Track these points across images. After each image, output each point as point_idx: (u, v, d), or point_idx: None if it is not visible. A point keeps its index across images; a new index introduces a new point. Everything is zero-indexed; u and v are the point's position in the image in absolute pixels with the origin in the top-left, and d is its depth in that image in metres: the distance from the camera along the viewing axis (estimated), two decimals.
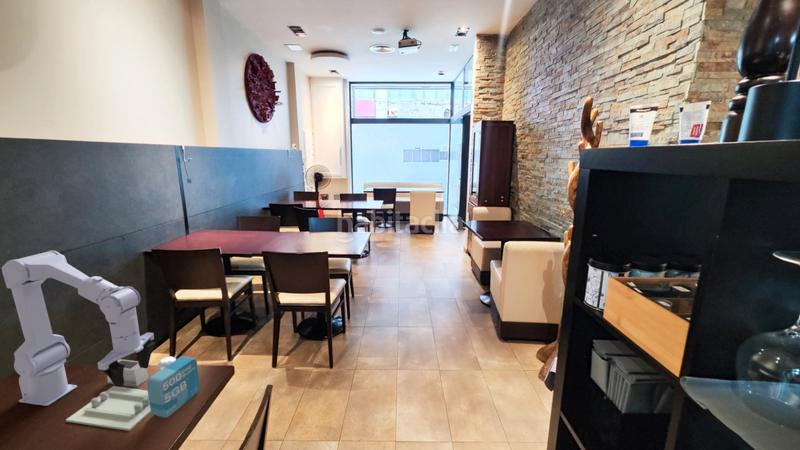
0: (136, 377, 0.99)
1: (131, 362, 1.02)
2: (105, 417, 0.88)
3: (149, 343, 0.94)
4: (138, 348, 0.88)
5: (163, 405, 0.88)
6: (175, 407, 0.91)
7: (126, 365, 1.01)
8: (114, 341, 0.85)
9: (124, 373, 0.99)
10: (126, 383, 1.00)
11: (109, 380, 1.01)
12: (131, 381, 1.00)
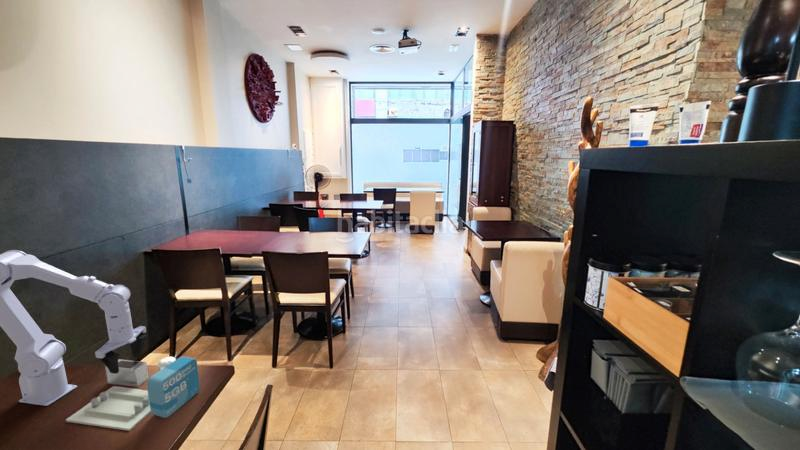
0: (136, 377, 0.99)
1: (131, 362, 1.02)
2: (105, 417, 0.88)
3: (141, 335, 1.04)
4: (131, 339, 0.99)
5: (163, 405, 0.88)
6: (175, 407, 0.91)
7: (126, 365, 1.01)
8: (109, 333, 0.96)
9: (124, 373, 0.99)
10: (126, 383, 1.00)
11: (109, 380, 1.01)
12: (131, 380, 1.00)
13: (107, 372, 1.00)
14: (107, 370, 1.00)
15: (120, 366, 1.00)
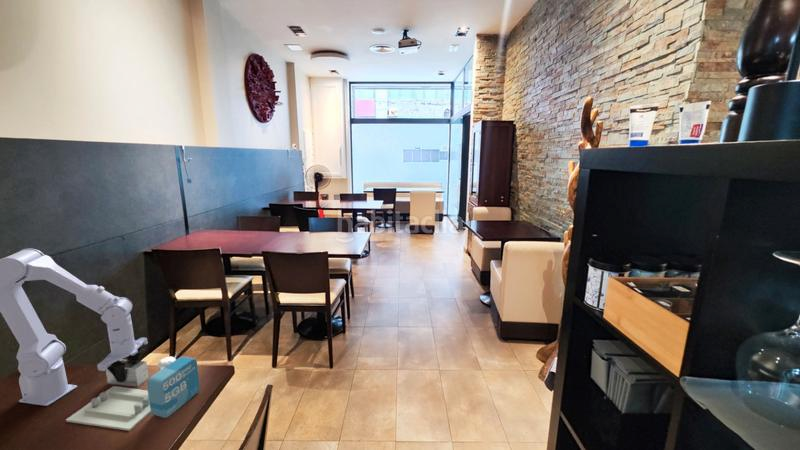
0: (137, 377, 1.00)
1: (131, 362, 1.02)
2: (105, 417, 0.88)
3: (139, 349, 1.04)
4: (133, 351, 1.00)
5: (163, 405, 0.88)
6: (175, 407, 0.91)
7: (126, 365, 1.01)
8: (111, 345, 0.97)
9: None
10: (126, 383, 1.00)
11: (109, 380, 1.00)
12: (131, 380, 1.00)
13: (107, 372, 1.00)
14: (107, 370, 1.00)
15: None
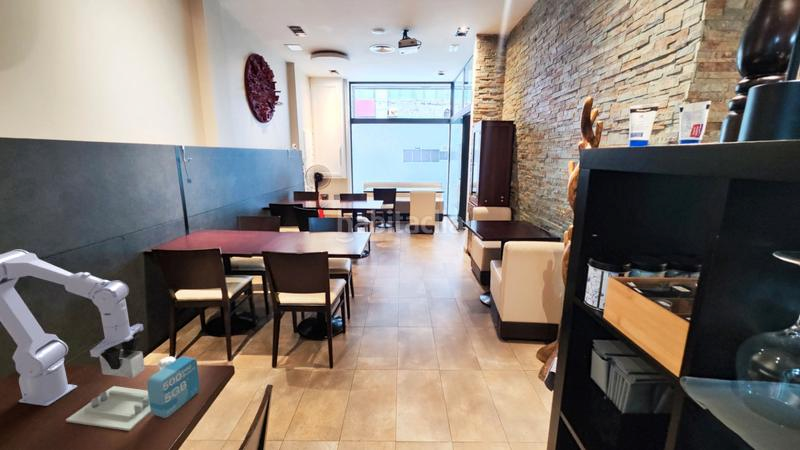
0: (132, 367, 0.95)
1: (126, 352, 0.97)
2: (105, 417, 0.88)
3: (134, 336, 0.99)
4: (128, 337, 0.95)
5: (163, 405, 0.88)
6: (175, 407, 0.91)
7: (121, 355, 0.96)
8: (105, 330, 0.92)
9: None
10: (121, 373, 0.96)
11: (103, 370, 0.96)
12: (127, 371, 0.95)
13: (101, 362, 0.95)
14: (101, 360, 0.95)
15: None
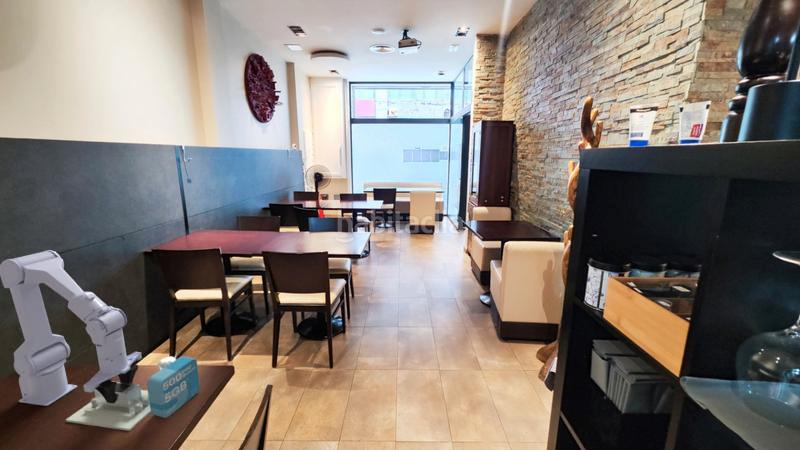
0: (128, 403, 0.89)
1: (123, 385, 0.91)
2: (105, 417, 0.88)
3: (132, 366, 0.93)
4: (125, 369, 0.89)
5: (163, 405, 0.88)
6: (175, 407, 0.91)
7: (117, 389, 0.90)
8: (100, 362, 0.86)
9: None
10: (117, 409, 0.89)
11: (98, 405, 0.90)
12: (123, 406, 0.89)
13: (96, 396, 0.89)
14: (96, 394, 0.89)
15: None
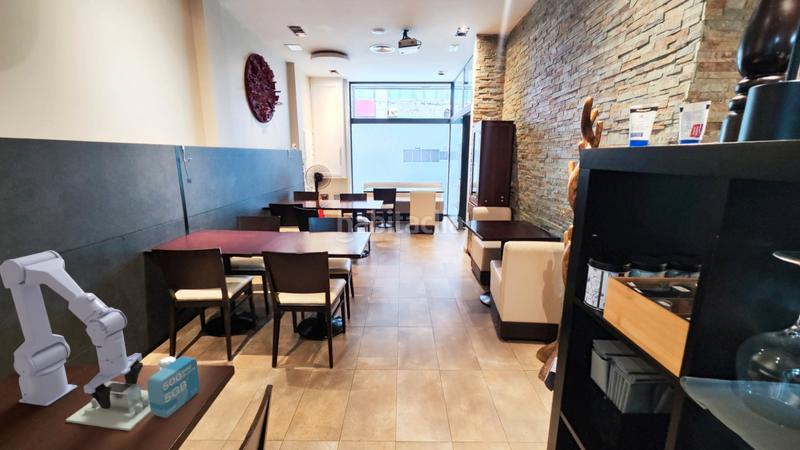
0: (128, 403, 0.89)
1: (123, 385, 0.91)
2: (105, 417, 0.88)
3: (137, 364, 0.94)
4: (125, 370, 0.89)
5: (163, 405, 0.88)
6: (175, 407, 0.91)
7: (117, 389, 0.90)
8: (100, 364, 0.86)
9: (115, 398, 0.89)
10: (117, 409, 0.89)
11: (98, 405, 0.90)
12: (123, 406, 0.89)
13: None
14: None
15: (111, 390, 0.89)
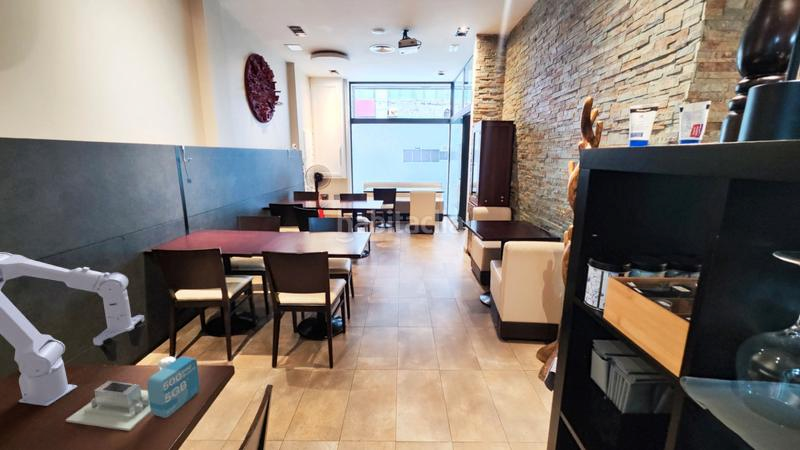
0: (128, 403, 0.89)
1: (123, 385, 0.91)
2: (105, 417, 0.88)
3: (140, 324, 1.04)
4: (129, 327, 0.99)
5: (163, 405, 0.88)
6: (175, 407, 0.91)
7: (117, 389, 0.90)
8: (108, 320, 0.96)
9: (115, 398, 0.89)
10: (117, 409, 0.89)
11: (98, 405, 0.90)
12: (123, 406, 0.89)
13: (96, 396, 0.89)
14: (96, 394, 0.89)
15: (111, 390, 0.89)
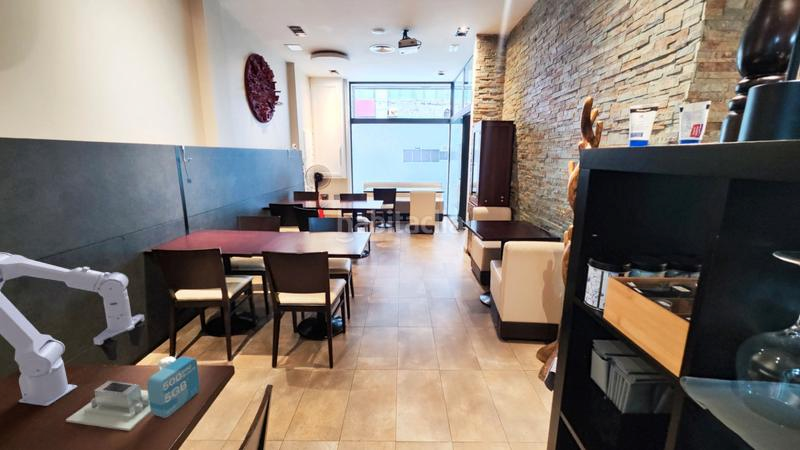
0: (128, 403, 0.89)
1: (123, 385, 0.91)
2: (105, 417, 0.88)
3: (140, 323, 1.05)
4: (130, 327, 0.99)
5: (163, 405, 0.88)
6: (175, 407, 0.91)
7: (117, 389, 0.90)
8: (108, 320, 0.96)
9: (115, 398, 0.89)
10: (117, 409, 0.89)
11: (98, 405, 0.90)
12: (123, 406, 0.89)
13: (96, 396, 0.89)
14: (96, 394, 0.89)
15: (111, 390, 0.89)
